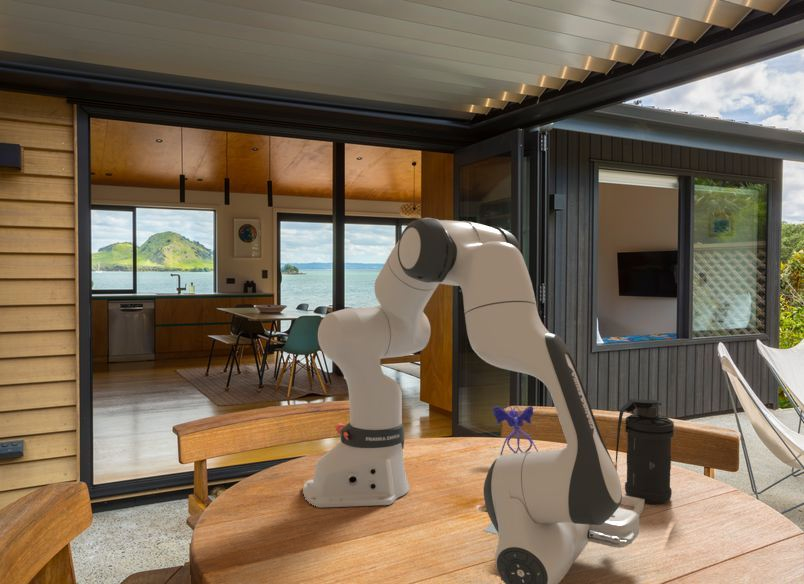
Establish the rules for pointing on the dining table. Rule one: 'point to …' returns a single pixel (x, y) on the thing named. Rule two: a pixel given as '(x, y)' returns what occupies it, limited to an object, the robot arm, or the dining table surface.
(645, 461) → the grenade
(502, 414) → the squid
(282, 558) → the dining table surface
